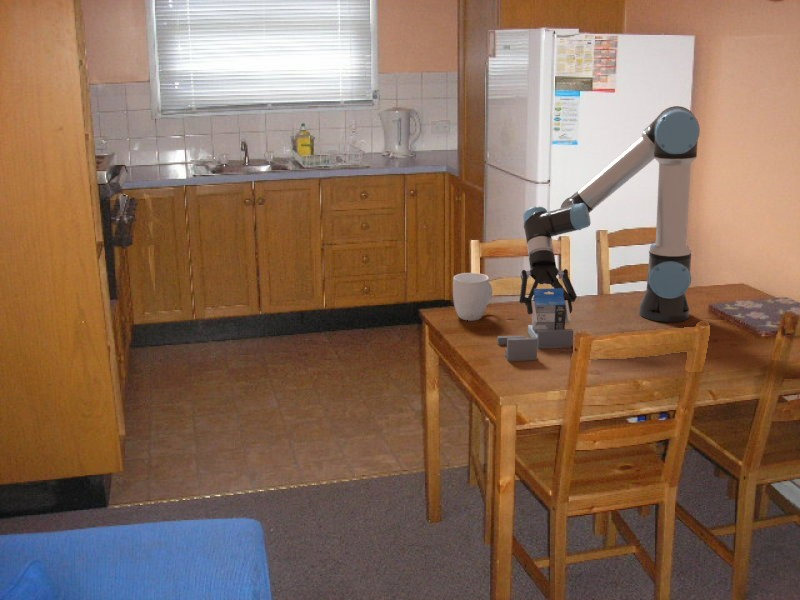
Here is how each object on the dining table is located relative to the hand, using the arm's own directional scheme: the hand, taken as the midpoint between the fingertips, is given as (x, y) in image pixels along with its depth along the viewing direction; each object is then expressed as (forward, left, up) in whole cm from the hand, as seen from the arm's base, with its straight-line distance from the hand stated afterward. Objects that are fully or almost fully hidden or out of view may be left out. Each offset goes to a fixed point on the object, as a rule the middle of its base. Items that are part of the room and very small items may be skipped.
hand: (551, 323), depth 258 cm
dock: (0, -3, -6) cm, 7 cm away
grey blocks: (+11, +6, -6) cm, 14 cm away
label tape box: (0, -3, -4) cm, 5 cm away
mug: (+18, -26, -6) cm, 33 cm away
